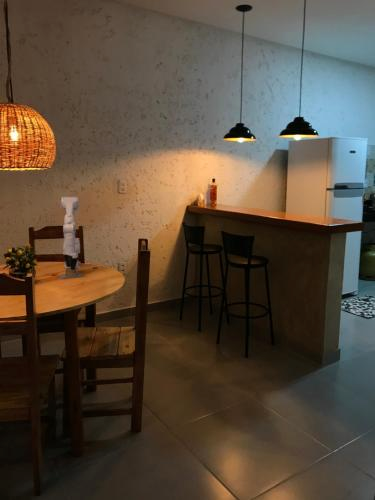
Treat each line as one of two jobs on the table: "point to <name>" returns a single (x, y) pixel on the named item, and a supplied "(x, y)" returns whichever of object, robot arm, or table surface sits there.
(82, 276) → the baseplate
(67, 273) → the walnut brick
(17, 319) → the table surface
